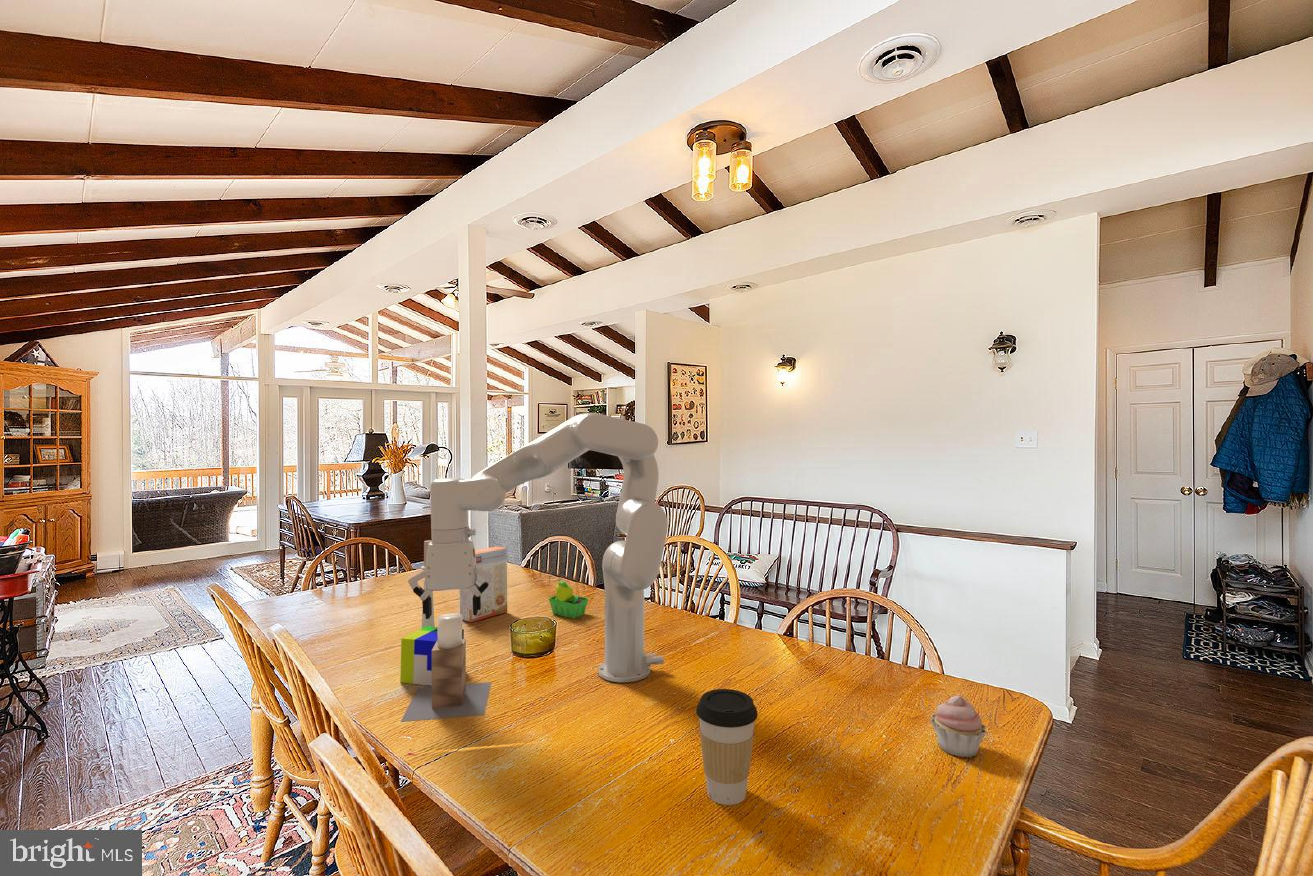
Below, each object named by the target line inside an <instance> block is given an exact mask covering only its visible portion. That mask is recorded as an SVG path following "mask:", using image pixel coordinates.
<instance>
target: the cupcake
mask: <svg viewBox="0 0 1313 876" xmlns="http://www.w3.org/2000/svg"><path fill="white" fill-rule="evenodd" d="M930 723H931V725H932V727H933V728H934V731H935V735H936V738H937V742H938V745H939V747H940V749H941V750H942V751H944V752H946V753H947V754H950V755H952V756H954V755H955V757H957V756H958V757H957V758H964V757H967V758H968V757H969V758H973V757H972V756H974V757H975V756H976V755H977V754H978V752H979V748H980V745H981V743H982V740H983V738H984V737H985V736H986V734H987V733H988V732H987V731H986V729H987V728H988V727H987V726H986V725H985V724H983V721H982V717H980V715H979V713H977V711H976V708H975V707H974V705H973V704H971V702H970V701H968V700H967V699H965V698H964V697H963V696H961V695H954V696H951V697H950V698H949V699H948V700H947V701H946V702H943V703H941V704H939V705H938V706H937V708H936V713H935V714H931V718H930ZM967 758H966V759H967Z"/></svg>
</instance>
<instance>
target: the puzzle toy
mask: <svg viewBox="0 0 1313 876" xmlns="http://www.w3.org/2000/svg"><path fill="white" fill-rule="evenodd" d="M464 633H465V629H464V628H462V639H465V637H464V636H465V635H464ZM437 641H438V626H435V627H428V626H427V627H425V628H422V627H421V629H419V630H416V631H414V632H412V633H410V634H408V635H406V636H404V637H402V638H401V643H400V644H401V645H400V649H401V650H400V674H399V675H400V676H399V677H400V678H399V679H400V680H399V681H400V682H399V683H401V684H409V685H410V684H411V685H420V686H421V685H423V686H432V649H433V647H434V645H435V644H436V642H437Z"/></svg>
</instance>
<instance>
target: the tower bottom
mask: <svg viewBox="0 0 1313 876" xmlns="http://www.w3.org/2000/svg"><path fill="white" fill-rule="evenodd" d="M466 667H467V666H466ZM466 667H465V669H464V672H463V675H462V677H459V678H444V679H432V708H438V707H451V706H462V703H463V700H464V697H465V694H466V684H467V682H466V680H467V679H466V676H467V673H466V672H467V671H466V670H467V668H466Z"/></svg>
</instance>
